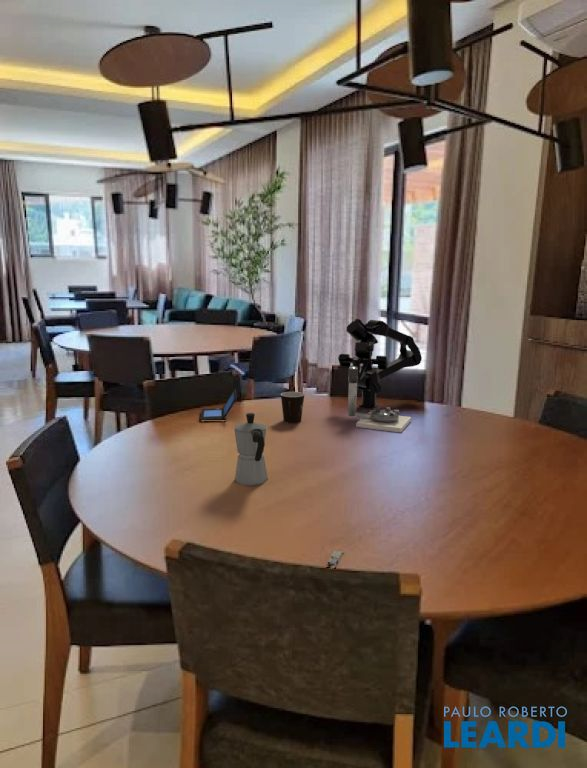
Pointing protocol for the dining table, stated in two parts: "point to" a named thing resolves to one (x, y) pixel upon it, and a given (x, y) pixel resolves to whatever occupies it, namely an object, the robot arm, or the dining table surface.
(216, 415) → the handheld game console
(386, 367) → the robot arm
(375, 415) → the grey l-shaped piece
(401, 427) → the base plate
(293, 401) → the dark brown coffee cup
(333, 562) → the granola bar
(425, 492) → the dining table surface
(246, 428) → the coffee maker
